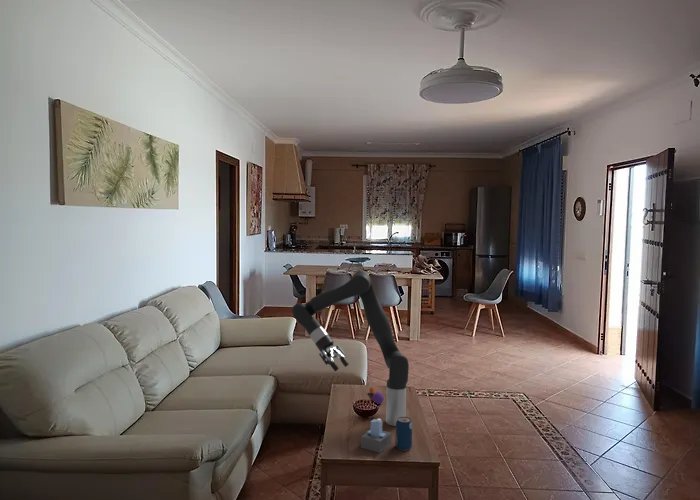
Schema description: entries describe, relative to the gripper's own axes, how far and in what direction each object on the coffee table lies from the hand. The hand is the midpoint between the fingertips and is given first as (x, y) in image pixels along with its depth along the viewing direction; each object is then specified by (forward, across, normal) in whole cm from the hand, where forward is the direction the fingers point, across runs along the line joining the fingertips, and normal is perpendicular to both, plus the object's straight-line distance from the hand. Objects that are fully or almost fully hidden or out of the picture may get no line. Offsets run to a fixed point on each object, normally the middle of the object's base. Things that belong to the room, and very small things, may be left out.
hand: (342, 367), depth 220 cm
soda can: (+42, 0, -1) cm, 42 cm away
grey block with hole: (+35, -5, +6) cm, 36 cm away
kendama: (+16, +46, +25) cm, 54 cm away
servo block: (+35, -5, +6) cm, 36 cm away
